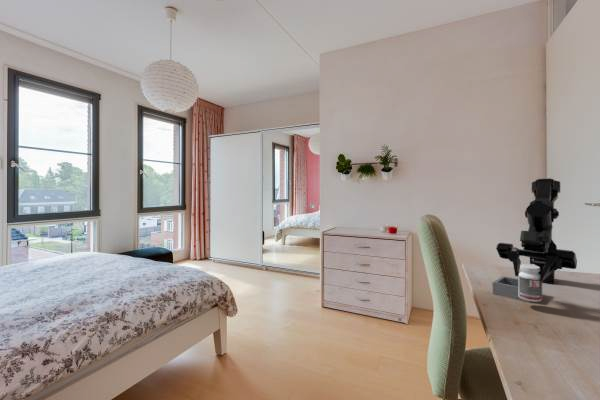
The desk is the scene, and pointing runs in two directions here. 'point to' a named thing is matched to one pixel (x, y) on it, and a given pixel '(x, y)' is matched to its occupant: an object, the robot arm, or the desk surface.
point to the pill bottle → (530, 283)
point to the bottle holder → (507, 287)
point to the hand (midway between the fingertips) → (528, 278)
